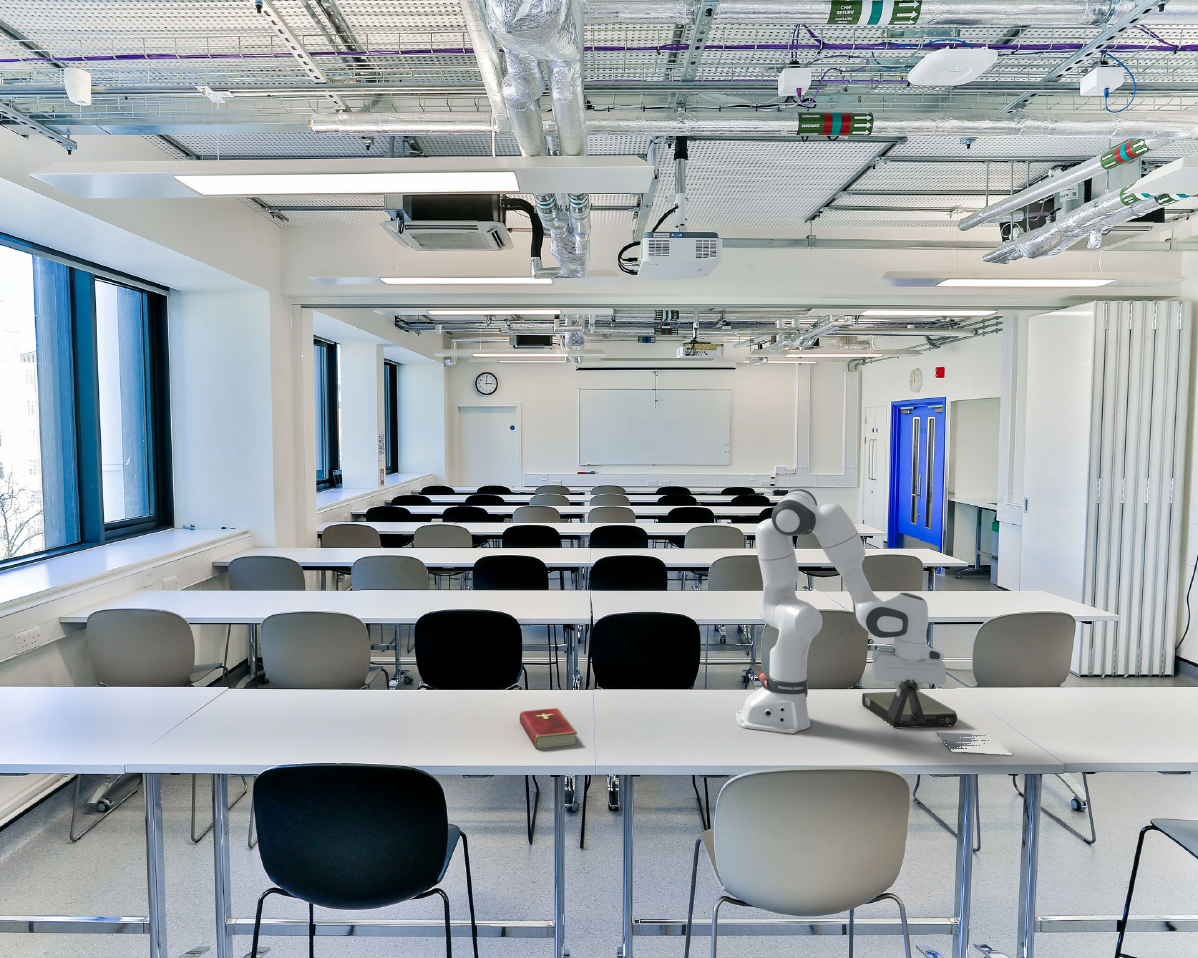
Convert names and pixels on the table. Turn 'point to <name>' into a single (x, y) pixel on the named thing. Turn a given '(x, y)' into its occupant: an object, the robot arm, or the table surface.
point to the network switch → (931, 709)
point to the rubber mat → (956, 739)
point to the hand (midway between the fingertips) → (906, 696)
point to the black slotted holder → (899, 703)
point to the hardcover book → (547, 728)
